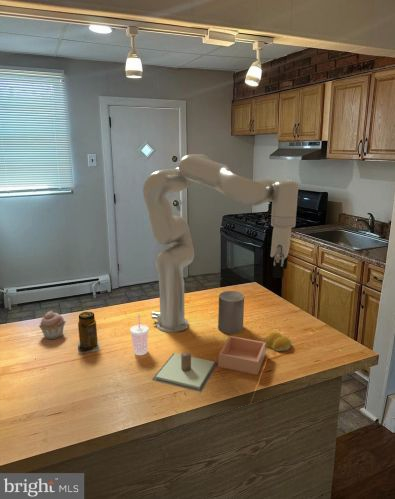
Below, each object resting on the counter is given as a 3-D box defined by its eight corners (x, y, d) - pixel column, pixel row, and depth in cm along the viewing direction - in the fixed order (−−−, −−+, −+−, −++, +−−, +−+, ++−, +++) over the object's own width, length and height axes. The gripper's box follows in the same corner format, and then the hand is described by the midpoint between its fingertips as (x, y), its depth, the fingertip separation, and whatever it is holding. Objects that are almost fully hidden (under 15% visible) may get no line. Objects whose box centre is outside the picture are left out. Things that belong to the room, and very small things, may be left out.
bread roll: (281, 354, 127) (282, 344, 126) (260, 344, 134) (261, 334, 133) (295, 346, 132) (296, 336, 131) (275, 337, 139) (276, 327, 138)
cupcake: (72, 334, 140) (69, 309, 138) (49, 344, 133) (46, 318, 130) (57, 327, 146) (54, 303, 143) (35, 336, 138) (32, 311, 136)
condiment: (98, 339, 137) (95, 309, 133) (100, 350, 129) (98, 319, 126) (77, 342, 134) (74, 311, 131) (78, 354, 127) (75, 322, 123)
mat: (151, 381, 112) (151, 379, 112) (173, 354, 127) (173, 353, 127) (201, 393, 107) (201, 392, 107) (218, 363, 121) (218, 362, 121)
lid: (155, 378, 113) (155, 361, 111) (174, 355, 125) (174, 339, 124) (199, 389, 108) (199, 371, 106) (214, 363, 121) (214, 347, 119)
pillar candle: (217, 322, 150) (218, 287, 146) (242, 322, 149) (243, 287, 145) (218, 334, 140) (218, 297, 136) (244, 334, 140) (245, 297, 136)
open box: (218, 368, 119) (218, 354, 118) (229, 348, 130) (229, 335, 129) (257, 376, 115) (258, 362, 113) (265, 355, 126) (266, 342, 125)
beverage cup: (147, 346, 132) (146, 310, 128) (151, 355, 126) (149, 317, 122) (130, 349, 130) (128, 312, 126) (132, 358, 124) (130, 320, 120)
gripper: (275, 215, 126) (272, 263, 131) (266, 225, 110) (263, 280, 115) (298, 217, 124) (294, 266, 128) (292, 227, 108) (288, 283, 113)
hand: (279, 272), depth 122 cm, fingers open, 9 cm apart
